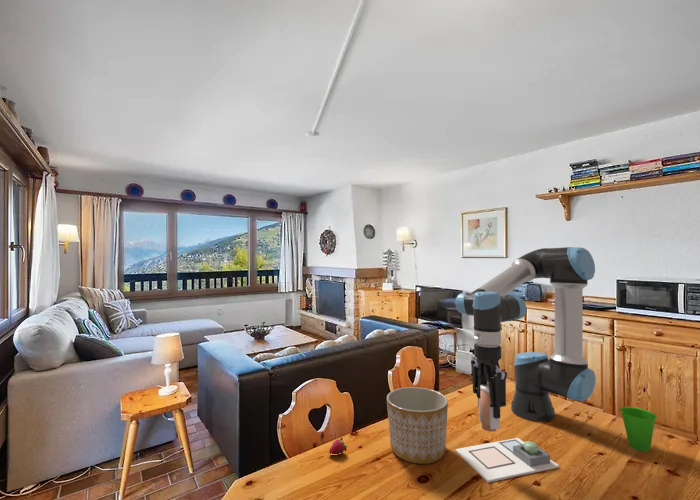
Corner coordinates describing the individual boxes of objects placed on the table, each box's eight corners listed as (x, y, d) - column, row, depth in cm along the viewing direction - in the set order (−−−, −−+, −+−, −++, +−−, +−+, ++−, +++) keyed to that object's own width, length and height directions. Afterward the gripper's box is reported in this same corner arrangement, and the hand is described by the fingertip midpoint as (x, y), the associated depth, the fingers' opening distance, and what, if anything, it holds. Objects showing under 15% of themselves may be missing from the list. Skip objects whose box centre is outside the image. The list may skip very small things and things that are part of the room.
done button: (521, 450, 104) (521, 442, 104) (531, 448, 105) (531, 440, 105) (530, 456, 100) (530, 448, 100) (540, 454, 101) (540, 446, 101)
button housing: (513, 454, 105) (512, 446, 105) (531, 450, 107) (531, 442, 107) (530, 467, 98) (530, 458, 98) (550, 463, 100) (550, 454, 100)
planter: (453, 441, 114) (452, 391, 114) (443, 475, 96) (442, 416, 97) (397, 430, 122) (396, 383, 122) (379, 459, 104) (378, 404, 105)
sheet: (455, 451, 108) (455, 448, 108) (518, 439, 114) (518, 437, 114) (487, 482, 93) (487, 480, 93) (558, 467, 99) (558, 464, 99)
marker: (477, 425, 102) (477, 384, 102) (490, 423, 103) (489, 383, 103) (487, 432, 97) (486, 390, 98) (500, 430, 99) (499, 388, 99)
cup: (665, 456, 103) (664, 420, 104) (631, 454, 105) (630, 417, 105) (646, 441, 112) (645, 407, 112) (615, 438, 114) (613, 405, 114)
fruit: (326, 453, 108) (325, 437, 108) (344, 449, 110) (343, 433, 110) (329, 460, 104) (329, 443, 104) (348, 456, 106) (347, 440, 106)
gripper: (459, 338, 108) (460, 413, 108) (496, 352, 92) (498, 441, 91) (479, 337, 110) (481, 410, 110) (519, 350, 94) (521, 437, 93)
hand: (489, 424), depth 100 cm, fingers closed on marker, 4 cm apart
